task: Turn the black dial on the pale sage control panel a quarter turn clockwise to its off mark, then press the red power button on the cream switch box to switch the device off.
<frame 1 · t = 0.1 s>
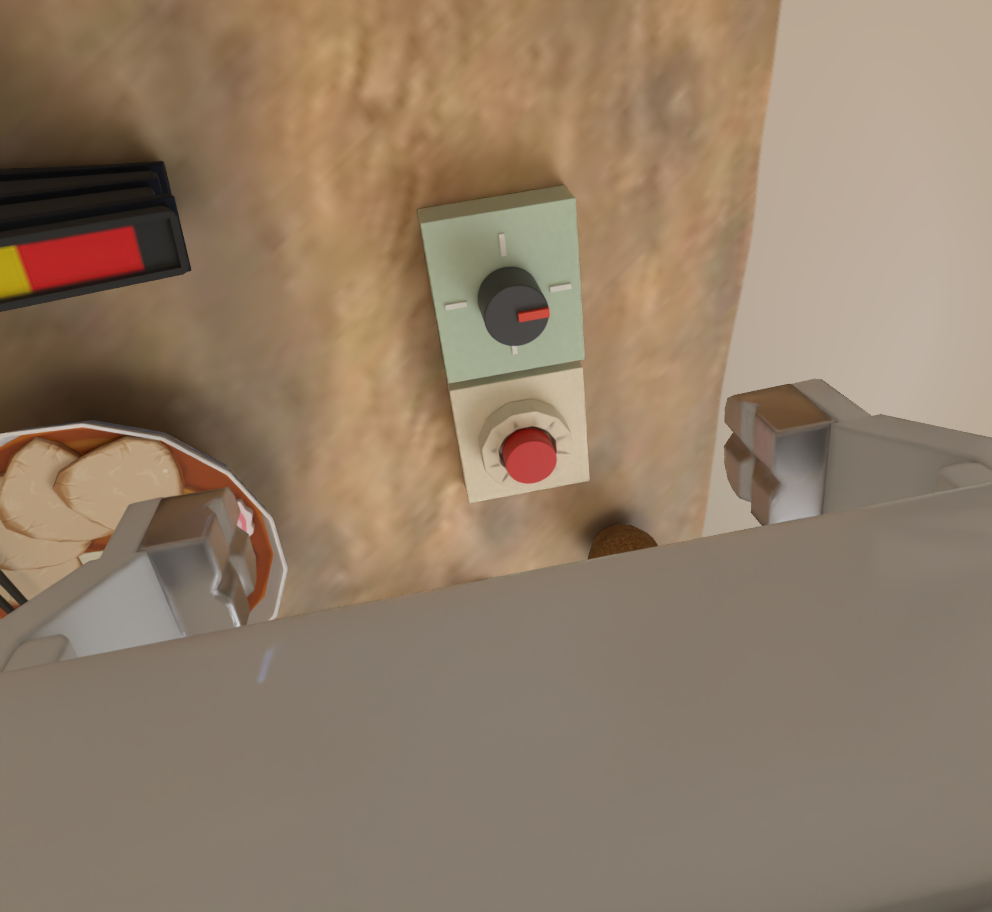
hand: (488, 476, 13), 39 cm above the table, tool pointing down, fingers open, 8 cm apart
magazine: (96, 190, 45), on the table
fruit: (612, 534, 66), on the table
dial: (513, 307, 48), point 5 cm above the table, hinge at 90.0°
switch box: (518, 423, 58), on the table
power button: (529, 456, 55), point 5 cm above the table, slide at 0.2 cm
ramen bowl: (136, 503, 57), on the table
dial panel: (500, 279, 52), on the table
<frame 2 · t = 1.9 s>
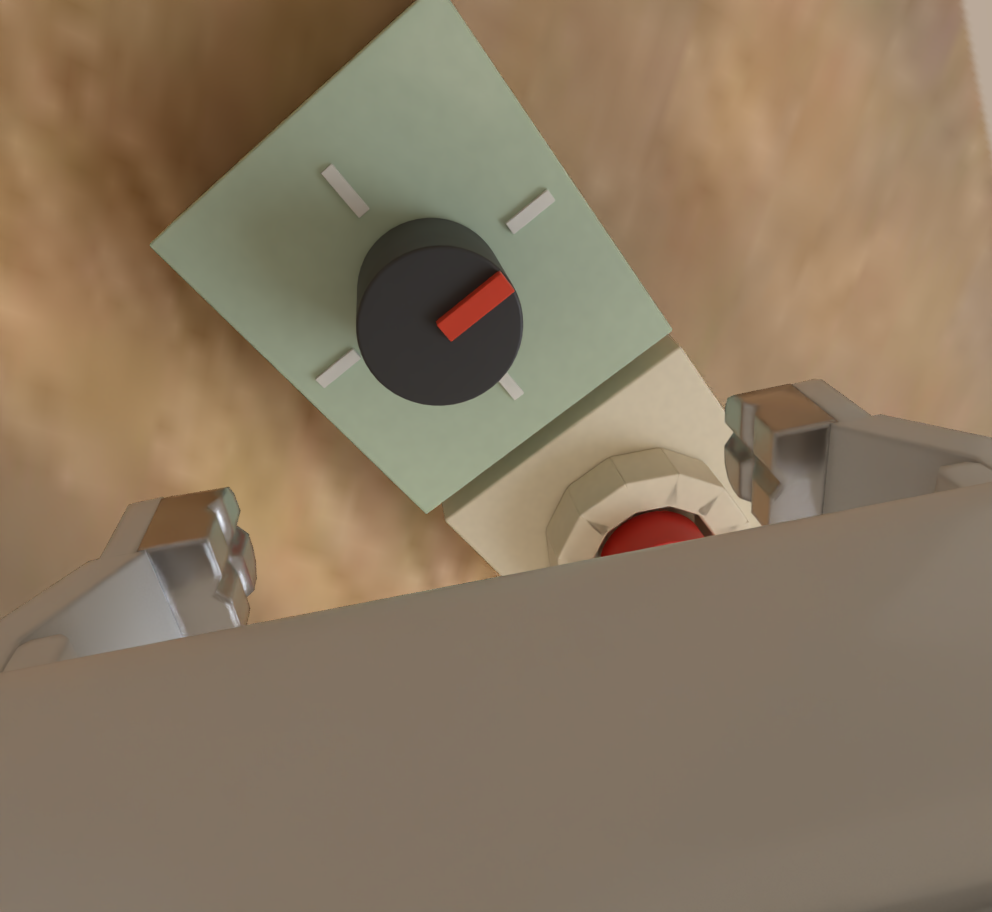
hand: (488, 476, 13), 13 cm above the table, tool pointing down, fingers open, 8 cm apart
dial: (436, 311, 20), point 5 cm above the table, hinge at 90.0°
switch box: (620, 498, 29), on the table
power button: (660, 571, 25), point 5 cm above the table, slide at 0.2 cm
dial panel: (423, 263, 24), on the table
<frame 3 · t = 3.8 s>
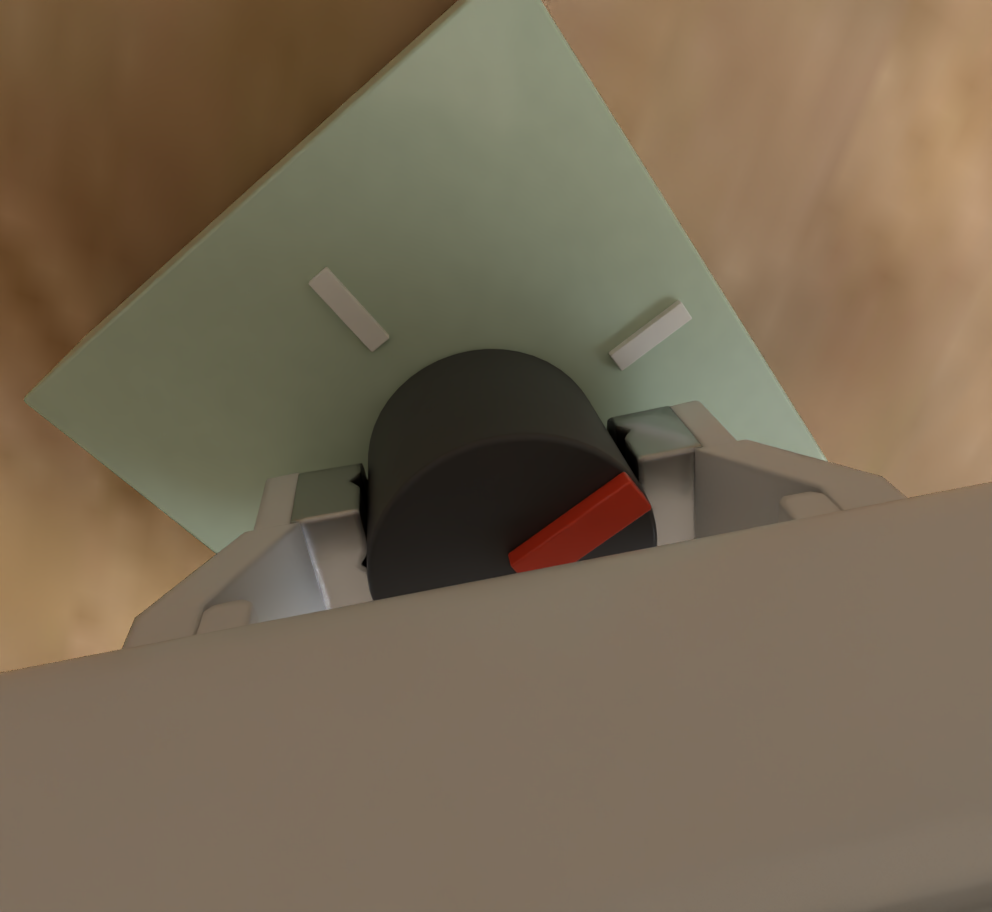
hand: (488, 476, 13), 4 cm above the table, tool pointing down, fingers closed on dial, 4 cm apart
dial: (500, 511, 12), point 5 cm above the table, hinge at 89.9°, touching gripper
dial panel: (467, 388, 16), on the table
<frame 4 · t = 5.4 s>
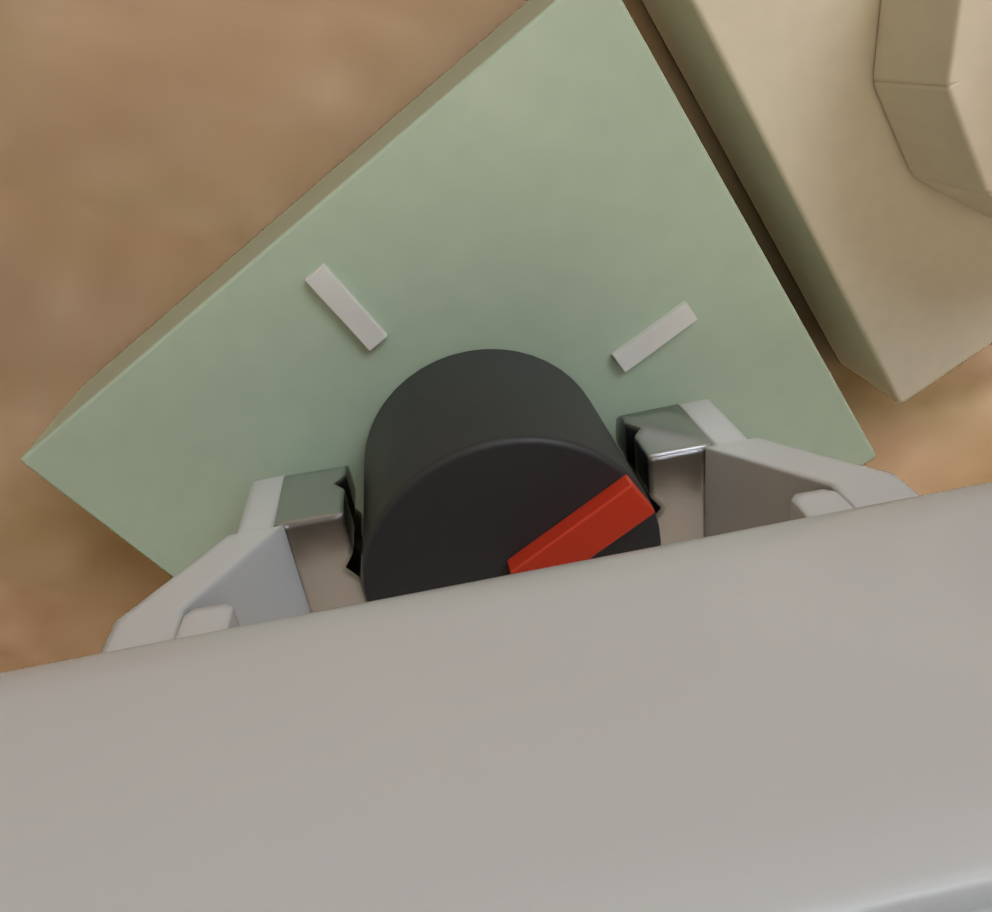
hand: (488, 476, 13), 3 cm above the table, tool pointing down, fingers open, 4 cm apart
dial: (500, 515, 11), point 5 cm above the table, hinge at 1.1°
dial panel: (466, 389, 16), on the table
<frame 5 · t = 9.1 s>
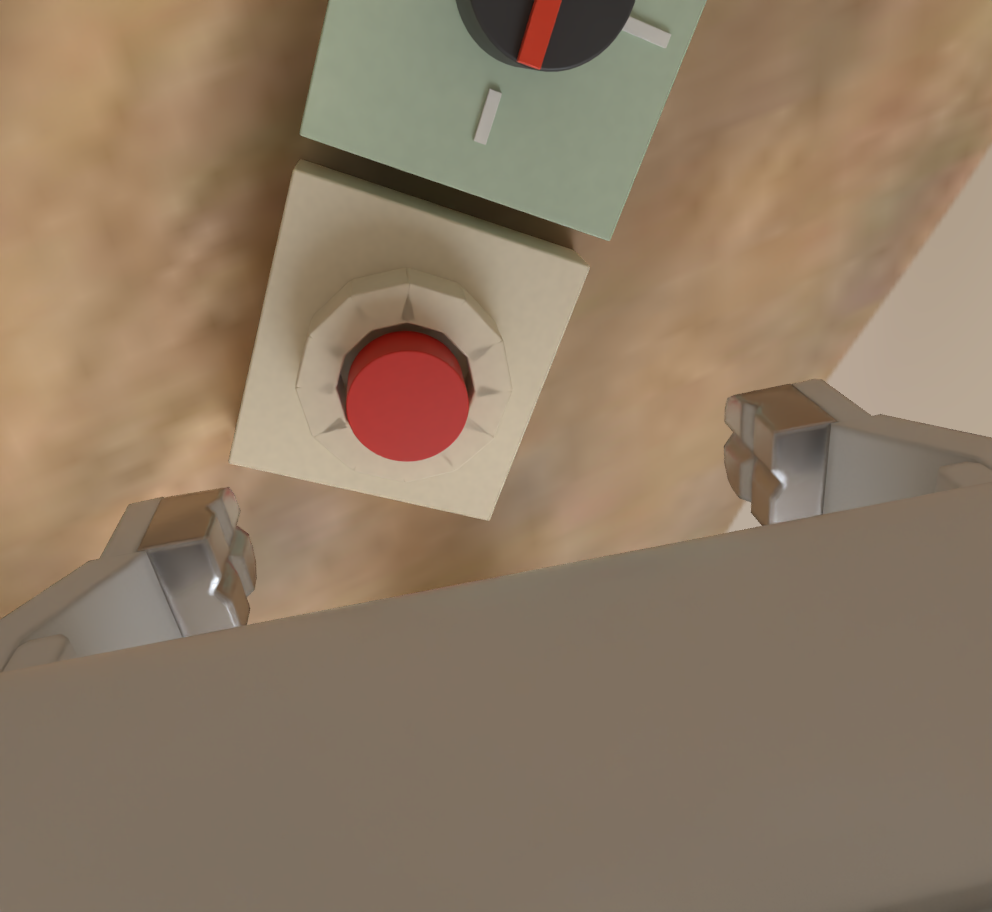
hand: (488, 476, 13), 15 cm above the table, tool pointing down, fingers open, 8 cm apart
switch box: (402, 345, 27), on the table
power button: (407, 396, 23), point 5 cm above the table, slide at 0.2 cm
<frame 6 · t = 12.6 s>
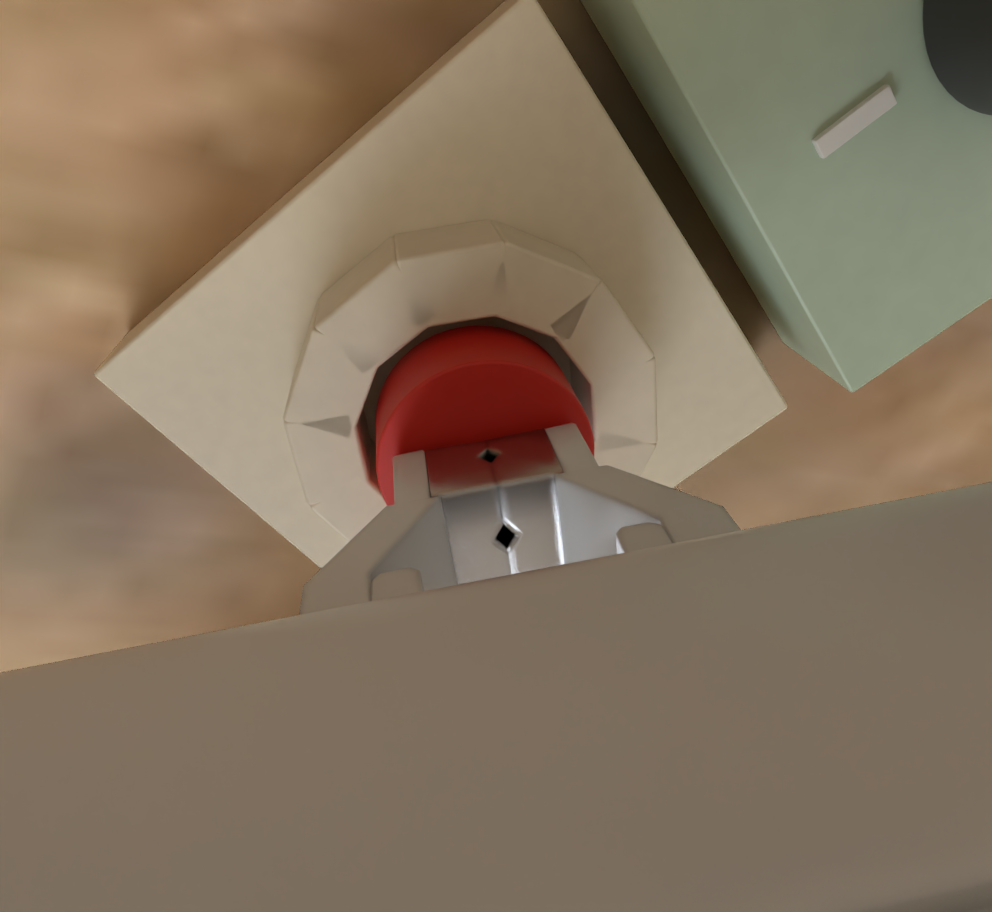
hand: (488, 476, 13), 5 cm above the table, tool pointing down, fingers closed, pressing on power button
switch box: (457, 353, 17), on the table
power button: (481, 440, 13), point 4 cm above the table, slide at -0.1 cm, touching gripper
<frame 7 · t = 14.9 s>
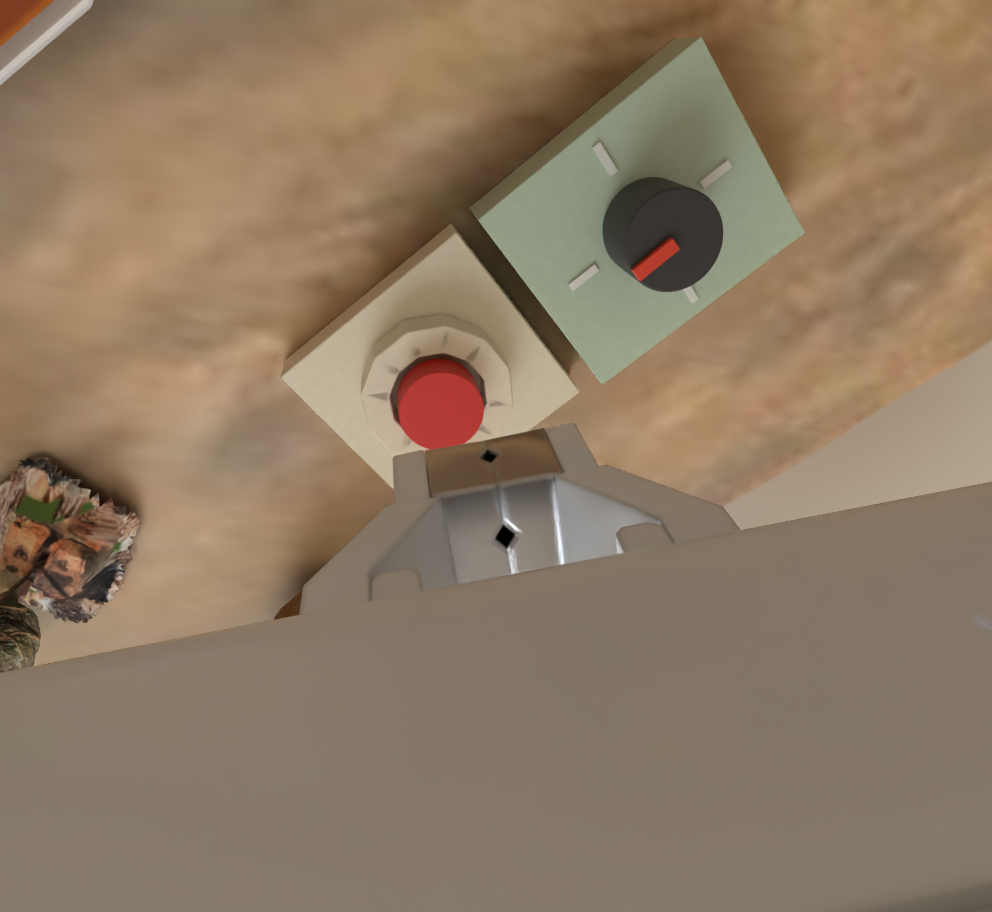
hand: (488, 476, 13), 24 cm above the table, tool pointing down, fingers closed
fruit: (329, 602, 43), on the table
dial: (661, 234, 31), point 5 cm above the table, hinge at 1.3°
switch box: (431, 368, 37), on the table
power button: (439, 404, 33), point 5 cm above the table, slide at 0.1 cm
dial panel: (626, 214, 35), on the table
plant with pod: (43, 552, 39), on the table
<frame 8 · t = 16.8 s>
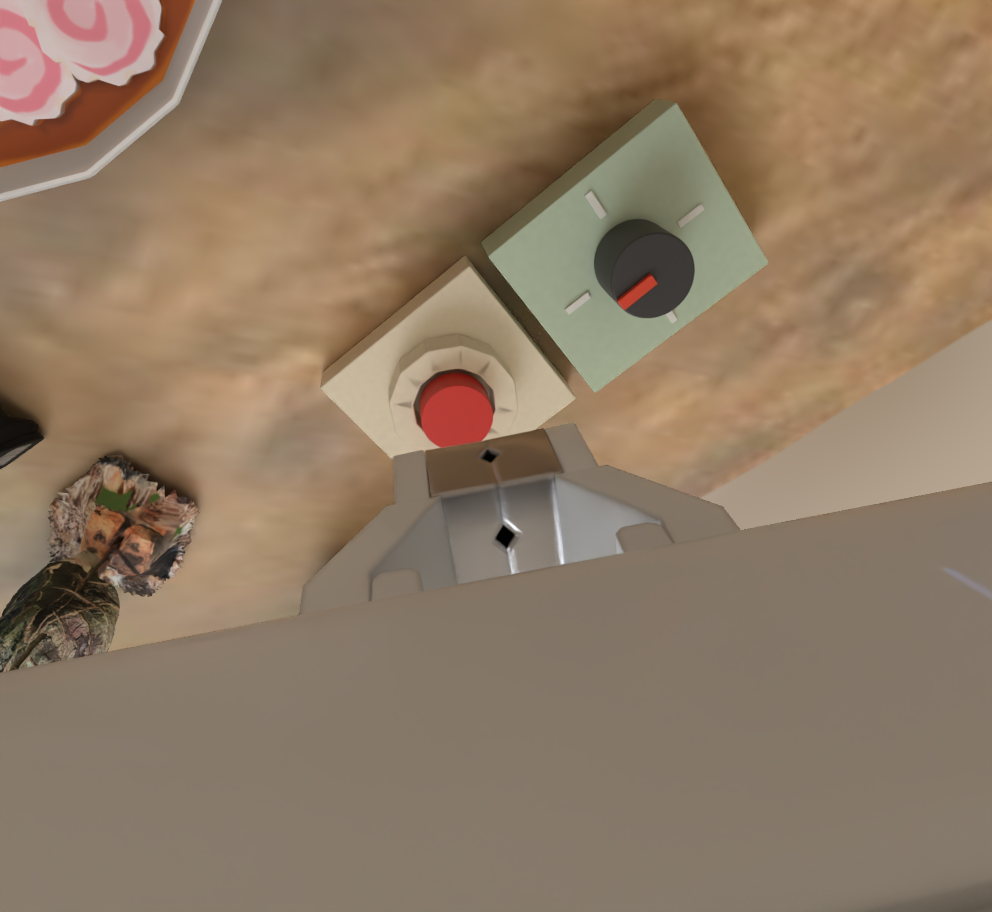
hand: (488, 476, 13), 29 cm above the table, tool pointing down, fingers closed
dial: (643, 268, 37), point 5 cm above the table, hinge at 1.3°
switch box: (448, 378, 43), on the table
power button: (455, 411, 39), point 5 cm above the table, slide at 0.1 cm
dial panel: (615, 246, 41), on the table
plant with pod: (115, 535, 45), on the table
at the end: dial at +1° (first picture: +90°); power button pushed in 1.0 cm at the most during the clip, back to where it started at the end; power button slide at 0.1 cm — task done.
